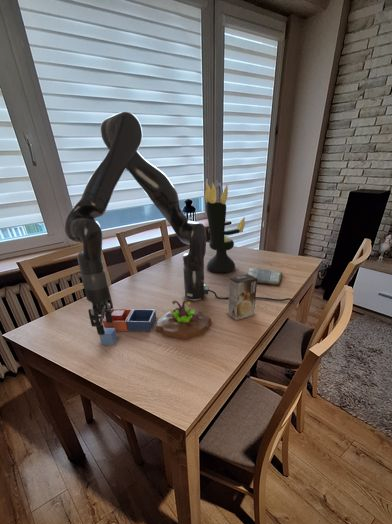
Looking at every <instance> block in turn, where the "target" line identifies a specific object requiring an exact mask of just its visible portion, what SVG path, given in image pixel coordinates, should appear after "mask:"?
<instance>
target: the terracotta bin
mask: <svg viewBox="0 0 392 524" xmlns="http://www.w3.org/2000/svg"><path fill="white" fill-rule="evenodd" d="M111 310H112V313H113V311H114V310H122V311H125V314H126V320H125V321H113V322H112V323H107V322H106V318H105V317H104V319H103V327H104V328H115V330H116V331H125V332H126V331H128V326H127V320H128V318H129V317H130V315H131V313H132V311H133V310H134V309H133V308H113V309H111ZM112 313H111V314H112ZM128 332H129V331H128Z"/></svg>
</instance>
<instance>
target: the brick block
mask: <svg viewBox="0 0 392 524" xmlns="http://www.w3.org/2000/svg"><path fill="white" fill-rule="evenodd" d="M112 319H113V321H125V320H126V314H125V311H122V310H114V311H113V313H112Z"/></svg>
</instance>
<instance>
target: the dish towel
mask: <svg viewBox="0 0 392 524" xmlns="http://www.w3.org/2000/svg"><path fill="white" fill-rule="evenodd" d="M247 274H249V275H251V276H253V277H255V278H257V284H263V285H272V286H274V285H275V286H279V285H280V282H281V279H282V276H283V271H281V270H271V269H268V268H267V269H266V268H259V267H258V268H254V267H249V269H248V272H247Z"/></svg>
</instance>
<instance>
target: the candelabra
mask: <svg viewBox="0 0 392 524" xmlns="http://www.w3.org/2000/svg"><path fill="white" fill-rule="evenodd" d="M214 183H215V182H212V185H211V187H210V185H209V183H208V182H206V185H205V186H206V188H205V191H204V200H205V212H206V217H207V218H206V219H207V224H208V229H207V232H208V234H209V237H210V241H209V244H208V245H209V247H210V249H212V250H214V251H216V253H215V255H214V256H213V257H212V258H211V259H210V260H208V262H207V264H206V268H207V270H208V271H210V272H212V273H221V274H222V273H223V274H224V273H225V274H226V273H229V272H232V271H234V270H235V268H236V263H235V262H234V260H233V259H232V258H231V257H230V256H229V255H228V254H227V251H229V250H232V249H233V248H234V246H235V242H234V241H233V239H232V238H230V236H232V235H236V234H240V233H244V228H245V227H246V226H245V225H246V218H245V216H243V218H241V220H240V221H239V222H238V224H237V227H236V228H234V229H230V230H225V229H226V218H227V217H226V216H227V204H226V203H227V199H228V193H229V190H228V184H226V185H225V187H224V189H223V191H222V193H221V196H220V199H219V201H220V202H217V189H216V186H215V184H214Z"/></svg>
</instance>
